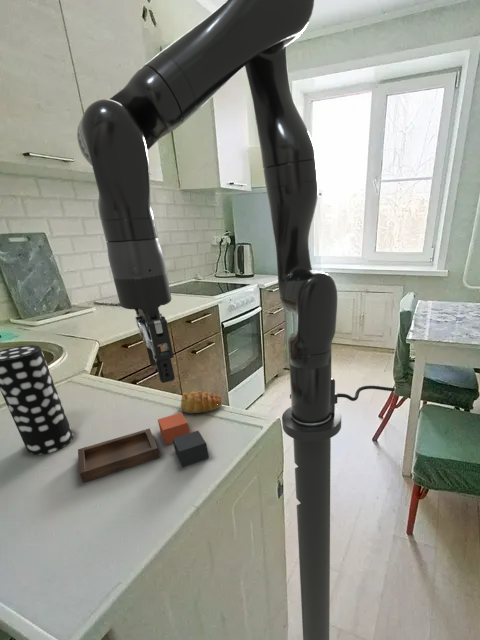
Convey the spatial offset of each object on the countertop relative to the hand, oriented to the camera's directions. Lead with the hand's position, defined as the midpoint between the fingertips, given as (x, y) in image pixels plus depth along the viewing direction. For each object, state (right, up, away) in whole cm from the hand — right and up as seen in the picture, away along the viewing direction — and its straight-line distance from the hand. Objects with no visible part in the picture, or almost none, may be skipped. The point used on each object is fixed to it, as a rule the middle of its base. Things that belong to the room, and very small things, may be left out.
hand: (162, 372), depth 59 cm
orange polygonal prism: (-2, -13, +14) cm, 19 cm away
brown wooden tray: (-11, -16, +8) cm, 21 cm away
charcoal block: (+3, -16, +8) cm, 18 cm away
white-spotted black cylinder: (-28, -14, +14) cm, 35 cm away
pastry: (0, -8, +25) cm, 26 cm away
